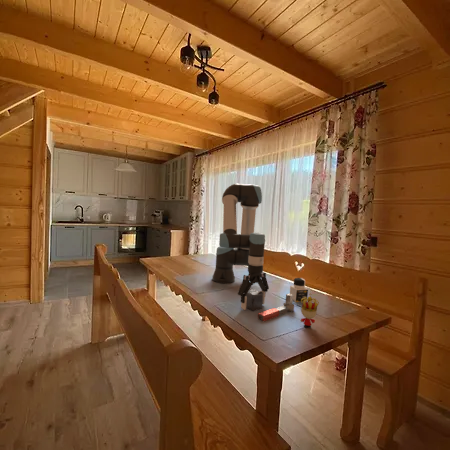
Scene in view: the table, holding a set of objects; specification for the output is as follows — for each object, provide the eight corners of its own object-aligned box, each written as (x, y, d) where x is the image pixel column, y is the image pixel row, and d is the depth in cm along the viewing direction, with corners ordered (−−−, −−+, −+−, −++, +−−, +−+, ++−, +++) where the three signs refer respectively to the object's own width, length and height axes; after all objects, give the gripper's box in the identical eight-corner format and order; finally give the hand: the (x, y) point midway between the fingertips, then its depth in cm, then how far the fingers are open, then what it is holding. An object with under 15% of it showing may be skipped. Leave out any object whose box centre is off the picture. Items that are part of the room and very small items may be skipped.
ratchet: (287, 307, 133) (288, 292, 132) (295, 310, 129) (297, 295, 128) (256, 318, 118) (257, 301, 117) (264, 322, 114) (266, 304, 113)
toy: (312, 323, 115) (315, 290, 114) (319, 331, 108) (322, 296, 107) (296, 322, 115) (299, 290, 114) (302, 330, 108) (305, 295, 107)
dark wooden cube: (243, 306, 130) (244, 291, 130) (252, 304, 134) (253, 289, 134) (253, 311, 125) (254, 295, 125) (261, 308, 130) (263, 292, 129)
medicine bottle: (295, 302, 140) (297, 280, 139) (289, 297, 147) (290, 277, 146) (307, 301, 142) (309, 280, 141) (300, 297, 149) (301, 276, 148)
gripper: (242, 268, 117) (240, 314, 119) (277, 263, 133) (274, 303, 135) (232, 265, 123) (229, 308, 125) (266, 260, 139) (263, 299, 141)
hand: (253, 306), depth 130 cm, fingers open, 12 cm apart
